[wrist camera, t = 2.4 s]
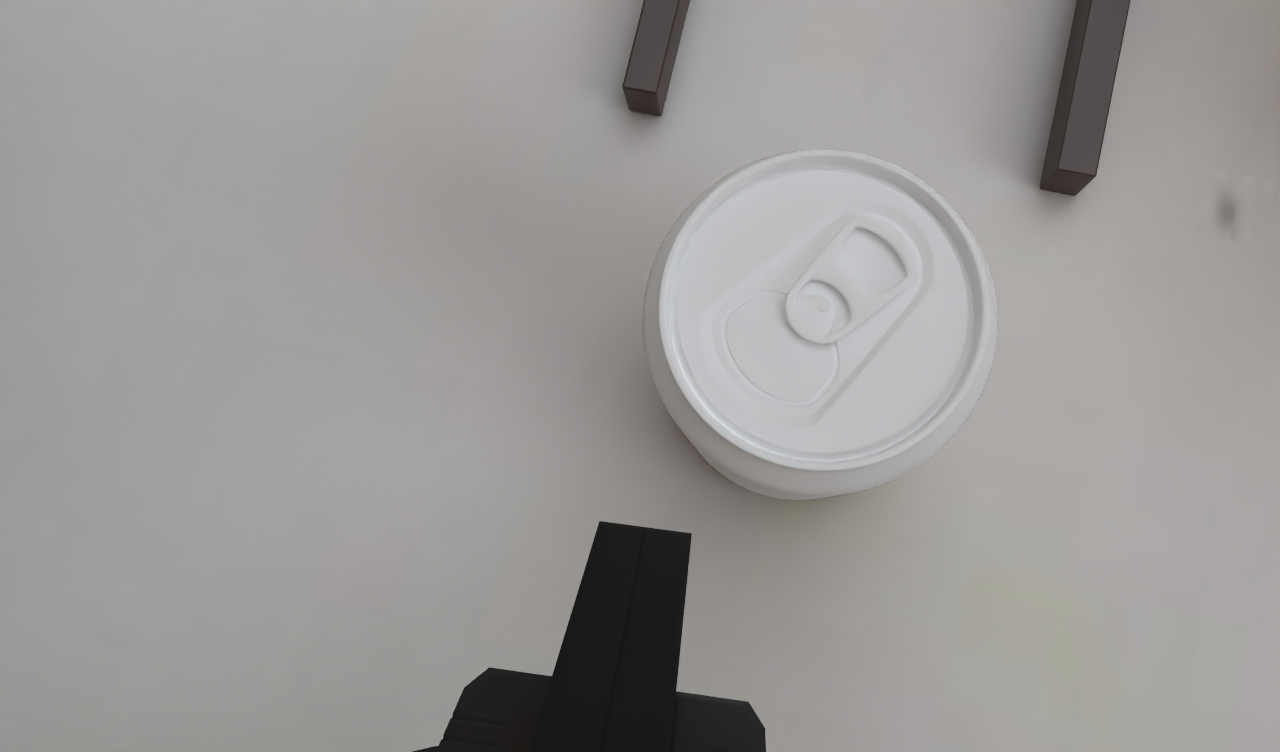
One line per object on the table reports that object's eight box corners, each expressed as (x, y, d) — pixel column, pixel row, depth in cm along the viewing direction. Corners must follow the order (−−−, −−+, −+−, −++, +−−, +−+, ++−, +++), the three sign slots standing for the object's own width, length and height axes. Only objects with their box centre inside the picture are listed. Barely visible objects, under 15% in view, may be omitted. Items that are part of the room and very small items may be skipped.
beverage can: (625, 374, 34) (560, 302, 22) (797, 211, 34) (824, 55, 23) (792, 552, 33) (818, 575, 21) (971, 382, 33) (1096, 310, 21)
